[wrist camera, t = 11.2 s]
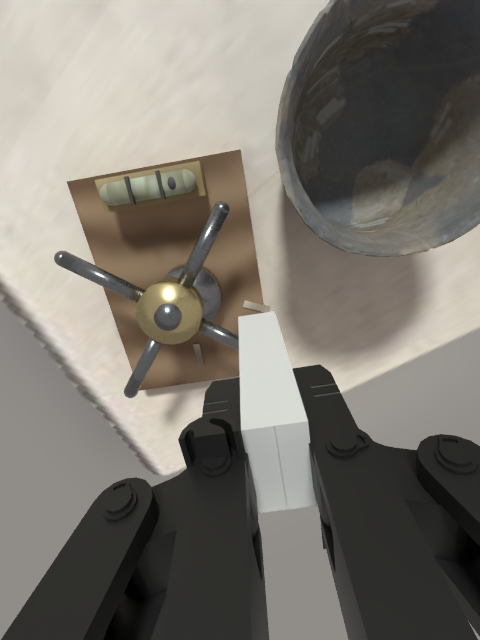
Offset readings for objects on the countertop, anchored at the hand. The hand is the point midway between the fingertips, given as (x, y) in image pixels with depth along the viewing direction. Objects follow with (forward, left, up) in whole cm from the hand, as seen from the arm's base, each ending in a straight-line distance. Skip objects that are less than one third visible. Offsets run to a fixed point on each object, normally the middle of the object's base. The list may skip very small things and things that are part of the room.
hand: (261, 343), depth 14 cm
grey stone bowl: (-8, +12, -27) cm, 30 cm away
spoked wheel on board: (+4, -8, -26) cm, 28 cm away
